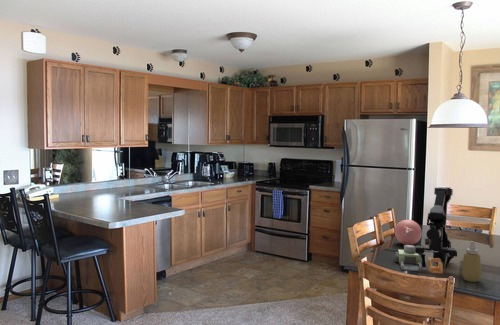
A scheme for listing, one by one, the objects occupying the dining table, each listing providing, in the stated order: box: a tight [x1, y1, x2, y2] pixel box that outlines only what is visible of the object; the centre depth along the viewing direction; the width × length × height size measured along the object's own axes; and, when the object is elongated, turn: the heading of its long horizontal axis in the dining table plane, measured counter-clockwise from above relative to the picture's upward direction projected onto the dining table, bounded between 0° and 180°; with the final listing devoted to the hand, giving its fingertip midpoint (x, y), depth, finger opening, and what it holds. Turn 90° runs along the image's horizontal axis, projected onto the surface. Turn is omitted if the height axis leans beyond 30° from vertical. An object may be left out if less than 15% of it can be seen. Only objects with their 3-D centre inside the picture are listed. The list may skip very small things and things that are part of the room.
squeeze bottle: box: [461, 240, 482, 283], centre depth 194 cm, size 8×8×18 cm
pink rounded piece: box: [394, 219, 423, 246], centre depth 256 cm, size 15×20×15 cm
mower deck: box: [394, 244, 424, 266], centre depth 222 cm, size 14×9×8 cm, turn 73°
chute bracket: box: [399, 260, 423, 273], centre depth 212 cm, size 10×11×2 cm
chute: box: [427, 257, 444, 275], centre depth 209 cm, size 6×9×5 cm, turn 163°
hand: (434, 268), depth 209 cm, fingers open, 9 cm apart
